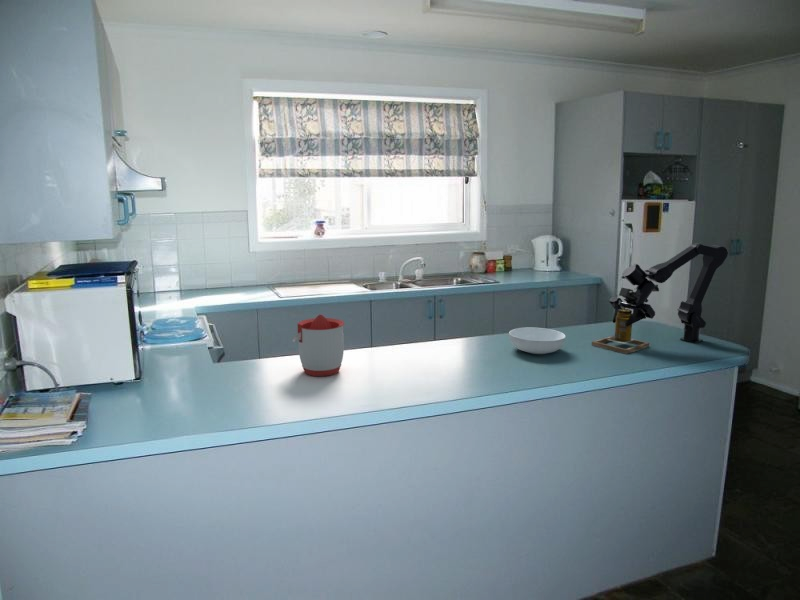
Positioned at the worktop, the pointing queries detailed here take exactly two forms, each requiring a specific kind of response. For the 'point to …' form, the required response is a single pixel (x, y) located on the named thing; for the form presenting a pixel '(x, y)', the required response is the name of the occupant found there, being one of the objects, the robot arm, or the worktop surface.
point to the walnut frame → (600, 344)
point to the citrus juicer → (320, 345)
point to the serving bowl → (537, 340)
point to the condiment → (622, 327)
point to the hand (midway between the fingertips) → (619, 324)
